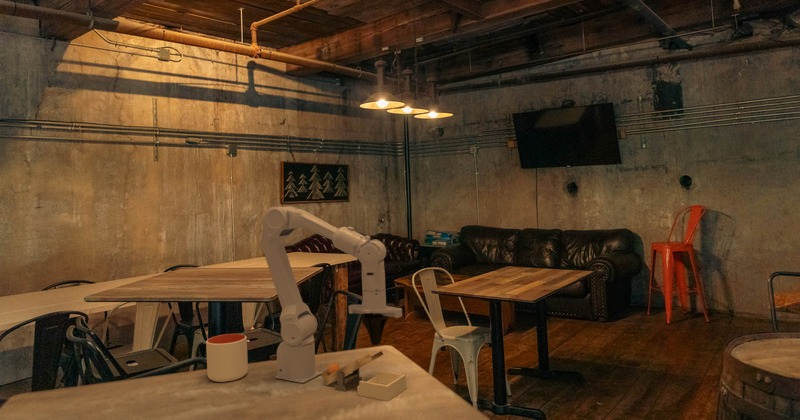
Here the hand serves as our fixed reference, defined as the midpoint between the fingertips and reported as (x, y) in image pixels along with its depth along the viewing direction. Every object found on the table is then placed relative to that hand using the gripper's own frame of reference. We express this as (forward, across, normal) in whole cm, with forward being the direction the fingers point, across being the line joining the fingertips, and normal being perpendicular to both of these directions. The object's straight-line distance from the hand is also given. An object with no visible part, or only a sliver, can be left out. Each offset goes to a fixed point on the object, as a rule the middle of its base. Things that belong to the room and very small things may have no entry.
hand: (376, 344), depth 126 cm
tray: (+9, +5, -6) cm, 12 cm away
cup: (+9, -37, -14) cm, 41 cm away
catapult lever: (+6, -4, -3) cm, 8 cm away
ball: (+6, -9, -6) cm, 12 cm away
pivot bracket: (+9, -4, -6) cm, 12 cm away
